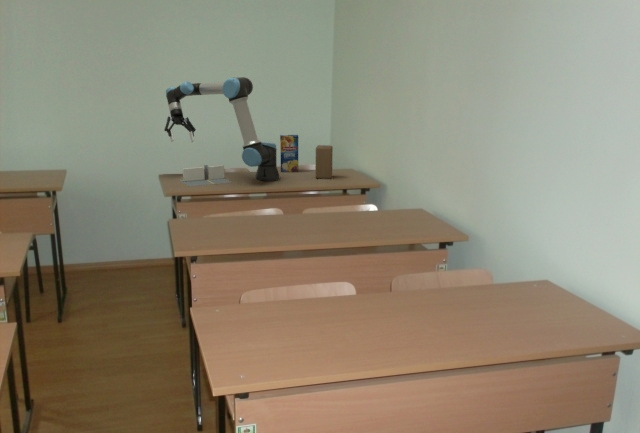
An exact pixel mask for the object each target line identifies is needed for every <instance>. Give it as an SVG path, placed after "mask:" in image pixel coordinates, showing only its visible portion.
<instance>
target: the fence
mask: <svg viewBox="0 0 640 433" xmlns="http://www.w3.org/2000/svg"><path fill="white" fill-rule="evenodd" d="M203 167H204V178H205V180H208V179H209V180H211V179H222V178H225V165H212V166H208V165H207V164H204V165H203Z"/></svg>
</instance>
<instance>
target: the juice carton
mask: <svg viewBox="0 0 640 433" xmlns="http://www.w3.org/2000/svg"><path fill="white" fill-rule="evenodd" d="M279 139H280V142H279V143H280V173H299V135H298V134H280V135H279Z"/></svg>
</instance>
